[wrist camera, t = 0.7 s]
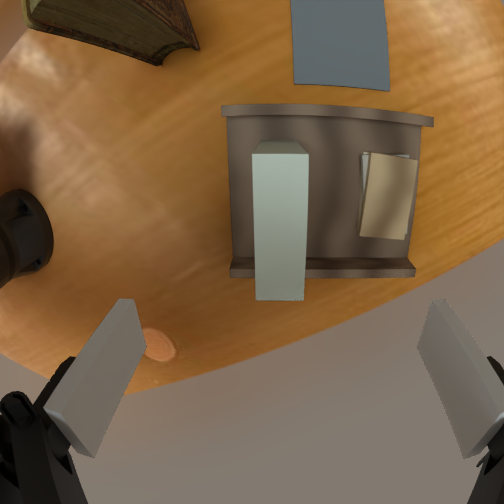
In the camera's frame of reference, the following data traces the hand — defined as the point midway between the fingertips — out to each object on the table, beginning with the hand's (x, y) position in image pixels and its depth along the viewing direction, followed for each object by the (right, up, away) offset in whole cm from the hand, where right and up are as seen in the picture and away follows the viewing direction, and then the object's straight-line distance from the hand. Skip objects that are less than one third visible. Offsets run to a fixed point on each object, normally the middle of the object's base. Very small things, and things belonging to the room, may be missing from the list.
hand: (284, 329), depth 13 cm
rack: (+8, +11, +25) cm, 29 cm away
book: (-13, +34, +17) cm, 40 cm away
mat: (+9, +31, +16) cm, 37 cm away
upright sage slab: (+2, +11, +24) cm, 27 cm away
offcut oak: (+15, +10, +22) cm, 28 cm away
